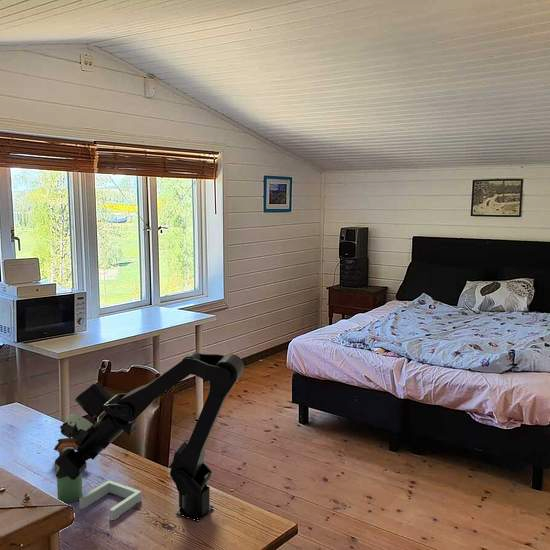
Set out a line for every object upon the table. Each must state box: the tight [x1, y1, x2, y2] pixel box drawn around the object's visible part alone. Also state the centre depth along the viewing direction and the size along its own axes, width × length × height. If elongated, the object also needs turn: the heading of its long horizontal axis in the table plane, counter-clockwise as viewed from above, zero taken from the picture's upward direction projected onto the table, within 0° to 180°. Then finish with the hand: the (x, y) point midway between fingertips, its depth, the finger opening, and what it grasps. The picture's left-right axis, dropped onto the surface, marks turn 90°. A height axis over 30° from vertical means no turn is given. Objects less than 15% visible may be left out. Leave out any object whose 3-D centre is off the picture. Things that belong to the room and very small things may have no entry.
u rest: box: [79, 480, 143, 521], centre depth 132 cm, size 10×10×2 cm
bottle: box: [56, 447, 83, 504], centre depth 134 cm, size 6×6×12 cm
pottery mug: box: [53, 437, 88, 470], centre depth 152 cm, size 12×10×8 cm
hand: (63, 470), depth 135 cm, fingers closed on bottle, 6 cm apart
